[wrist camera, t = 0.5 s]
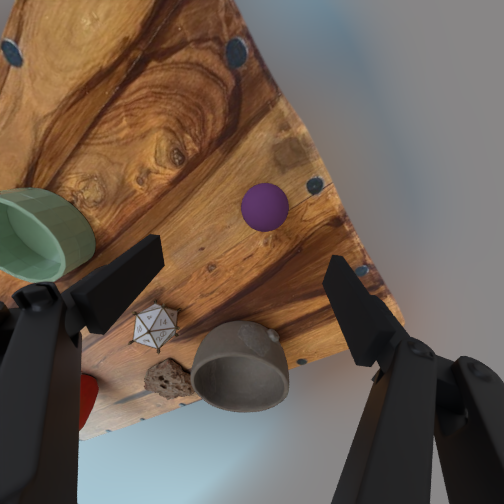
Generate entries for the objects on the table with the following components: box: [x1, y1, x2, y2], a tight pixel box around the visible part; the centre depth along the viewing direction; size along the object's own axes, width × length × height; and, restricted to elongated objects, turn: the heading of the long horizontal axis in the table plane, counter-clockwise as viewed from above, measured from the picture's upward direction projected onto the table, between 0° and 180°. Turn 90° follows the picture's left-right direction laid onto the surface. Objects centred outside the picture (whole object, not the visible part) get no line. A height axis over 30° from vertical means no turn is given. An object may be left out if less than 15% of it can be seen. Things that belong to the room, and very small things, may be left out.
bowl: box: [191, 321, 289, 412], centre depth 36 cm, size 17×18×10 cm
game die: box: [128, 299, 181, 354], centre depth 34 cm, size 9×8×10 cm
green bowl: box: [0, 187, 96, 283], centre depth 28 cm, size 13×13×6 cm
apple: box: [79, 374, 99, 431], centre depth 46 cm, size 12×12×14 cm
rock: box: [144, 359, 195, 400], centre depth 48 cm, size 14×13×4 cm
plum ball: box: [241, 183, 289, 232], centre depth 24 cm, size 6×6×6 cm
